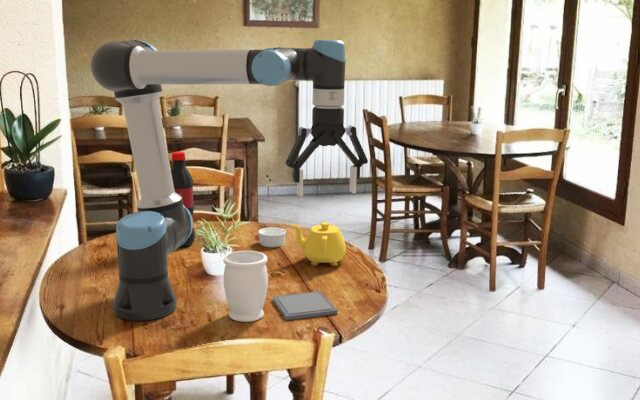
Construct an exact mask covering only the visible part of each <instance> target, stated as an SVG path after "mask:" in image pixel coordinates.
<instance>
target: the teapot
mask: <svg viewBox="0 0 640 400" xmlns="http://www.w3.org/2000/svg"><path fill="white" fill-rule="evenodd" d="M290 225H291V226H292V227H293V228H294V230H295V233H296V240H297V244H298V246H299V248H300V249H302V250H303V253H304V256H305V257H306V258H307V259H308V261H310V262H311V263H310V265H311V266H318V265H319V264H320V263H325V264H326V263H329V265H330V266H332V267H337V266H339V263H338V262H340V261H341V260H342V259H343V258H344V257H345V254H346V252H347V251H346V250H347V247H346V246H347V245H346V243H345V239H344V236H343V234H342V232H341V230H340V228H339V227H338V226H337V225H333V224H332V225H331V224H330V223H329V222H320V224H316V225H313V226H312V227H311V228H310V229H309V232H308V233H307V236H306V237H305V238H304V237H303V235H302V229H301V227H300V226H299V225H297V224H294V223H290Z"/></svg>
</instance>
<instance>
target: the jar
mask: <svg viewBox="0 0 640 400" xmlns="http://www.w3.org/2000/svg"><path fill="white" fill-rule="evenodd" d="M222 258H223V263H224V265H225V266H224V270H223V288H224V293H225V299H226V303H227V305H228V307H229V309H230V310H229V312H228V316H229V318H230V319H231V320H233V321H235V322H236V321H237V322H243V323H244V322H245V323H246V322H247V323H248V322H256V321H258V320H260V319H262V318H263V317H264V315H265V312H264V310H263V308H264V305H265V303H266V299H267V291H268V285H269V275H268V269H267V265H266V264H267V262H268V256H267V254H265V253H263V252H259V251H258V250H257V251H255V250H237V251H231V252H229V253H226V254H224V256H223V257H222Z"/></svg>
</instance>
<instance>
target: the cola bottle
mask: <svg viewBox="0 0 640 400" xmlns="http://www.w3.org/2000/svg"><path fill="white" fill-rule="evenodd" d="M171 161H172V165H171V167H170V169H171V174H172V180H173V185H174V190H175V192H176V193H177V194H178V195H180V196H181V197H182V201H183V205H184V207H185V208H187V209H188V210H189V212H190V214H191V216H192V219H193V218H194V210H195V205H194V180H193V177H192V174H191V172H190V171H189V169H188V168H187V167H186V163H185V161H186V153H185V152H184V151H173V152H172V154H171ZM195 238H196V232H195V229H194V227H193V228H192V232H191V234H190V236H189V238H188V239H187V240H186V242H185V243H184V244H183V245H182V246H180V247H179V248H186V247H190V246H191V245H193V243H194V242H195Z"/></svg>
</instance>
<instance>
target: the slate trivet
mask: <svg viewBox="0 0 640 400" xmlns="http://www.w3.org/2000/svg"><path fill="white" fill-rule="evenodd" d="M272 301H273V303H274V304H275V306H276V307H277V308H278V310H279V312H280V313H281V315H282V316H283V318H284V320H285V321H291V320H300V319H301V320H302V319H308V318H317V317H324V316H331V315H333V316H334V315H338V309H337V308H336V307H335V306H334V304H333V303H332V302H331V301H330V300H329V298H327V296H326V295H325V294H324V293H323V292H322V291H321V290H319V291H310V292H300V293H291V294H284V295H275V296H272Z"/></svg>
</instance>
